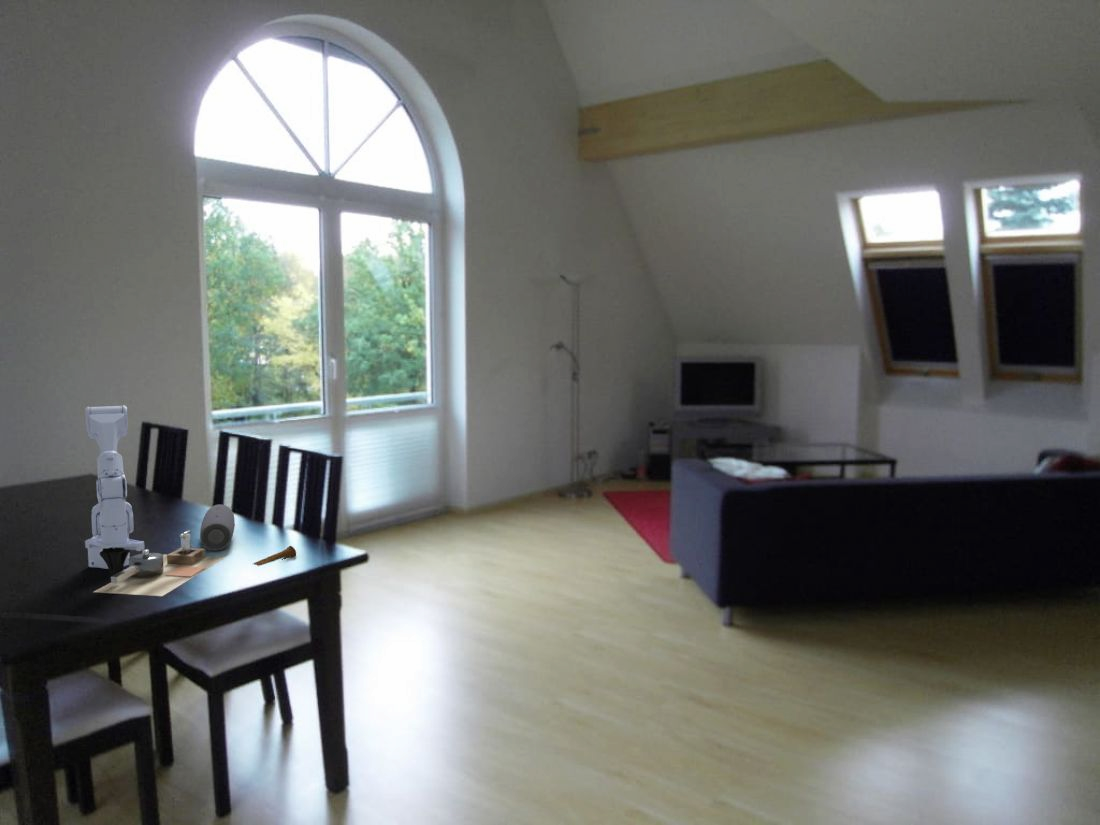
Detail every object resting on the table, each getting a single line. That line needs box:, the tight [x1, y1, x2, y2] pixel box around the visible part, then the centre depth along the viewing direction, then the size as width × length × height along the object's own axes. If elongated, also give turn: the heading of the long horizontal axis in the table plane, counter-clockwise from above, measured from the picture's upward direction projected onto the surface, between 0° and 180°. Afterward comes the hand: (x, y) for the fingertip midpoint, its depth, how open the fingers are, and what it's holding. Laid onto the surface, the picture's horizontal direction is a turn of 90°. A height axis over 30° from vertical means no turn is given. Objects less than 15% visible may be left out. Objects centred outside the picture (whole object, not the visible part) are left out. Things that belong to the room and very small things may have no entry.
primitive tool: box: [253, 545, 297, 567], centre depth 220 cm, size 19×6×4 cm, turn 152°
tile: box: [165, 566, 205, 577], centre depth 209 cm, size 7×7×1 cm
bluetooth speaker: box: [199, 503, 236, 552], centre depth 237 cm, size 23×9×10 cm, turn 20°
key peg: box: [179, 530, 192, 554], centre depth 218 cm, size 2×4×8 cm, turn 174°
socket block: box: [166, 547, 206, 565], centre depth 219 cm, size 7×7×2 cm
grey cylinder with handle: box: [110, 548, 164, 583], centre depth 202 cm, size 17×8×6 cm, turn 174°
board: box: [93, 553, 225, 597], centre depth 208 cm, size 18×30×1 cm, turn 174°
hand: (116, 576), depth 199 cm, fingers closed
